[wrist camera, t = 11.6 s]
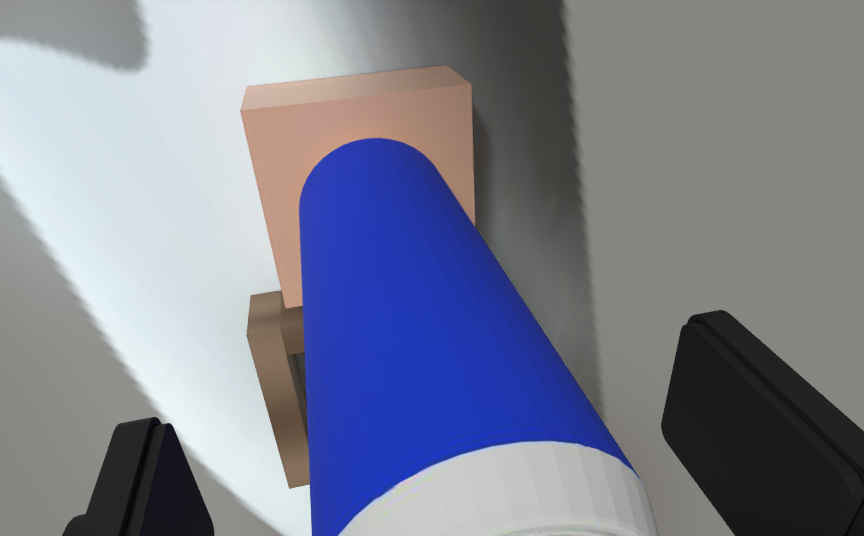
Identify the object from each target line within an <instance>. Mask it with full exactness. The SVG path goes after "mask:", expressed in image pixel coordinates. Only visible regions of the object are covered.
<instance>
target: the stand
mask: <svg viewBox="0 0 864 536" xmlns="http://www.w3.org/2000/svg"><path fill="white" fill-rule="evenodd" d="M240 112H241V116H242V121H243V125H244V129H245V134H246V138H247V142H248V147H249V151H250V155H251V160H252V164H253V168H254V173H255V177H256V182H257V186H258V190H259V195H260V199H261V203H262V208H263V212H264V216H265V221H266V225H267V229H268V234H269V238H270V242H271V247H272V251H273V256H274V260H275V264H276V269H277V273H278V277H279V282H280V286H281V290H282V295H283V299H284V303H285V308H291V307H297V306H303V301H302V277H301V252H300V227H299V202H300V196H301V192H302V188H303V186H304V184H305V182H306V179H307V177H308V176H309V174H310V173H311V171H312V170H313V168H314V167H315V166H316V165H317V164H318V163H319V162H320V161H321V159H322V158H324V157H325V156H326V155H328V154H329V153H330V152H331V151H333V150H335V149H337V148H338V147H340V146H342V145H344V144H347V143H350V142H353V141H356V140H361V139H366V138H385V139H393V140H396V141H400V142H403V143H405V144H408V145H410V146H412V147H414V148H415V149H417V150H418V151H420V152H421V153H423V154H424V155H425V156H426V157H427V158H428V159H429V160H430V161H431V162H432V163H433V164H434V166H435V167H436V168H437V170H438V171H439V173H440V174H441V176H442V177H443V179H444V180H445V182H446V183H447V185H448V186H449V188H450V189H451V191H452V192H453V194H454V196H455V197H456V199H457V200H458V202H459V203H460V205H461V206H462V208H463V209H464V211H465V212H466V214H467V215H468V217H469V218H470V220H471V221H472V223H473V225H474V226H475V200H474V163H473V125H472V87H471V83H469V82H468V81H467V80H466V79H464V78H463V77H462V76H460V75H459V74H458V73H457V72H455V71H454V70H453V69H452V68H450V67H449V66H448V65H441V66H432V67H423V68H414V69H404V70H395V71H386V72H377V73H367V74H358V75H349V76H340V77H330V78H321V79H312V80H303V81H293V82H284V83H275V84H266V85H256V86H247V89H246V92H245V95H244V99H243V102H242V106H241V109H240Z"/></svg>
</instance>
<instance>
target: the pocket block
mask: <svg viewBox="0 0 864 536" xmlns="http://www.w3.org/2000/svg"><path fill="white" fill-rule="evenodd" d="M247 339H248V342H249V346H250V350H251V353H252V357H253V360H254V364H255V368H256V371H257V375H258V378H259V382H260V385H261V389H262V393H263V396H264V400H265V403H266V407H267V411H268V414H269V418H270V421H271V425H272V428H273V432H274V436H275V439H276V443H277V446H278V450H279V454H280V457H281V461H282V464H283V468H284V471H285V475H286V479H287V482H288V486H289V489H290V488H295V487H299V486H304V485H309V484H310V474H309V450H308V425H307V401H306V397H305V392H304V388H303V384H302V379H301V375H300V371H299V366H298V362H297V358H296V354H297V353H302V352H305V351H304V326H303V306H297V307H291V308H285V303H284V299H283V295H282V290H281V291H275V292H269V293H263V294H256V295H251V298H250V308H249V317H248V326H247Z"/></svg>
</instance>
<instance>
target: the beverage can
mask: <svg viewBox="0 0 864 536" xmlns="http://www.w3.org/2000/svg"><path fill="white" fill-rule="evenodd" d="M299 227H300V252H301V277H302V301H303V326H304V351H305V375H306V400H307V425H308V450H309V474H310V499H311V524H312V536H659V534H658V531H657V526H656V523H655V519H654V515H653V511H652V507H651V503H650V500H649V497H648V494H647V492H646V489H645V487H644V485H643V483H642V481H641V479H640V478H639V476H638V475H637V473H636V472H635V470H634V469H633V467H632V466H631V464H630V463H629V461H628V460H627V458H626V457H625V455H624V454H623V452H622V450H621V449H620V447H619V446H618V444H617V443H616V441H615V440H614V438H613V437H612V435H611V434H610V432H609V431H608V429H607V428H606V426H605V425H604V423H603V421H602V420H601V418H600V417H599V415H598V414H597V412H596V411H595V409H594V408H593V406H592V405H591V403H590V402H589V400H588V399H587V397H586V396H585V394H584V392H583V391H582V389H581V388H580V386H579V385H578V383H577V382H576V380H575V379H574V377H573V376H572V374H571V373H570V371H569V370H568V368H567V367H566V365H565V363H564V362H563V360H562V359H561V357H560V356H559V354H558V353H557V351H556V350H555V348H554V347H553V345H552V344H551V342H550V341H549V339H548V337H547V336H546V334H545V333H544V331H543V330H542V328H541V327H540V325H539V324H538V322H537V321H536V319H535V318H534V316H533V315H532V313H531V312H530V310H529V308H528V307H527V305H526V304H525V302H524V301H523V299H522V298H521V296H520V295H519V293H518V292H517V290H516V289H515V287H514V286H513V284H512V283H511V281H510V279H509V278H508V276H507V275H506V273H505V272H504V270H503V269H502V267H501V266H500V264H499V263H498V261H497V260H496V258H495V257H494V255H493V254H492V252H491V250H490V249H489V247H488V246H487V244H486V243H485V241H484V240H483V238H482V237H481V235H480V234H479V232H478V231H477V229H476V228H475V226H474V225H473V223H472V221H471V220H470V218H469V217H468V215H467V214H466V212H465V211H464V209H463V208H462V206H461V205H460V203H459V202H458V200H457V199H456V197H455V196H454V194H453V192H452V191H451V189H450V188H449V186H448V185H447V183H446V182H445V180H444V179H443V177H442V176H441V174H440V173H439V171H438V170H437V168H436V167H435V166H434V164H433V163H432V162H431V161H430V160H429V159H428V158H427V157H426V156H425V155H424V154H423V153H421V152H420V151H418V150H417V149H415V148H414V147H412V146H410V145H408V144H405V143H403V142H400V141H396V140H393V139H385V138H366V139H361V140H356V141H353V142H350V143H347V144H344V145H342V146H340V147H338V148H337V149H335V150H333V151H331V152H330V153H329V154H328V155H326V156H325V157H324V158H322V159H321V161H320V162H319V163H318V164H317V165H316V166H315V167H314V168H313V170H312V171H311V173H310V174H309V176H308V177H307V179H306V182H305V184H304V186H303V188H302V192H301V196H300V202H299Z"/></svg>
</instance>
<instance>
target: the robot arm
mask: <svg viewBox="0 0 864 536" xmlns="http://www.w3.org/2000/svg"><path fill="white" fill-rule="evenodd" d="M661 428H662V433H663V436H664V438H665V440H666V442H667V443H668V445H669V446H670V447H671V449H672V450H673V452H674V453H675V454H676V456H677V457H678V458H679V460H680V461H681V463H682V464H683V465H684V467H685V468H686V469H687V471H688V472H689V473H690V475H691V476H692V477H693V478H694V480H695V482H696V483H697V484H698V486H699V487H700V488H701V490H702V491H703V493H704V494H705V495H706V497H707V498H708V499H709V501H710V502H711V503H712V505H713V506H714V507H715V509H716V510H717V512H718V513H719V514H720V516H721V517H722V518H723V520H724V521H725V522H726V524H727V525H728V526H729V528H730V529H731V531H732V532H733V533H734V535H735V536H864V431H863V430H862V429H860V428H859V427H858V426H857V425H856V424H855V423H854V422H852V421H851V420H850V419H849V418H848V417H847V416H846V415H844V414H843V413H842V412H841V411H840V410H839V409H838V408H836V407H835V406H834V405H833V404H832V403H831V402H830V401H828V400H827V399H826V398H825V397H824V396H823V395H822V394H820V393H819V392H818V391H817V390H816V389H815V388H814V387H812V386H811V385H810V384H809V383H808V382H807V381H806V380H805V379H803V378H802V377H801V376H800V375H799V374H798V373H797V372H795V371H794V370H793V369H792V368H791V367H790V366H789V365H787V364H786V363H785V362H784V361H783V360H782V359H780V358H779V357H778V356H777V355H776V354H775V353H774V352H772V351H771V350H770V349H769V348H768V347H767V346H766V345H765V344H763V343H762V342H761V341H760V340H759V339H758V338H757V337H755V336H754V335H753V334H752V333H751V332H750V331H748V330H747V329H746V328H745V327H744V326H743V325H742V324H741V323H739V322H738V321H737V320H736V319H735V318H734V317H733V316H731V315H730V314H729V313H727V312H726V311H723V310H718V311H713V312H708V313H702V314H697V315H693V316H691V317H690V318H689V320H688V322H687V324H686V325H684V326H683V327H682V329H681V332H680V337H679V342H678V347H677V352H676V356H675V361H674V365H673V370H672V375H671V380H670V385H669V389H668V394H667V399H666V404H665V408H664V413H663V418H662V422H661ZM62 536H214V527H213V523H212V520H211V517H210V515H209V513H208V510H207V508H206V505H205V503H204V501H203V498H202V496H201V493H200V491H199V489H198V486H197V483H196V481H195V479H194V476H193V474H192V471H191V469H190V467H189V464H188V462H187V459H186V457H185V454H184V452H183V449H182V447H181V445H180V442H179V440H178V437H177V435H176V432H175V430H174V428H173V426H172V425H171V424H170V423H167V424H163V425H162V424H161V422H160V420H159V419H158V418H157V417H152V418H146V419H141V420H136V421H131V422H126V423H120V424H118V425H117V426H116V428H115V430H114V433H113V435H112V438H111V441H110V444H109V447H108V450H107V453H106V456H105V459H104V462H103V465H102V468H101V471H100V474H99V476H98V479H97V482H96V485H95V488H94V491H93V494H92V497H91V500H90V503H89V506H88V509H87V512H86V514H84V515H79V516H76V517H74V518H73V519H72V520H71V521H70V522H69V523H68V525H67V527H66V529H65V531H64V533H63V535H62Z"/></svg>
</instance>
